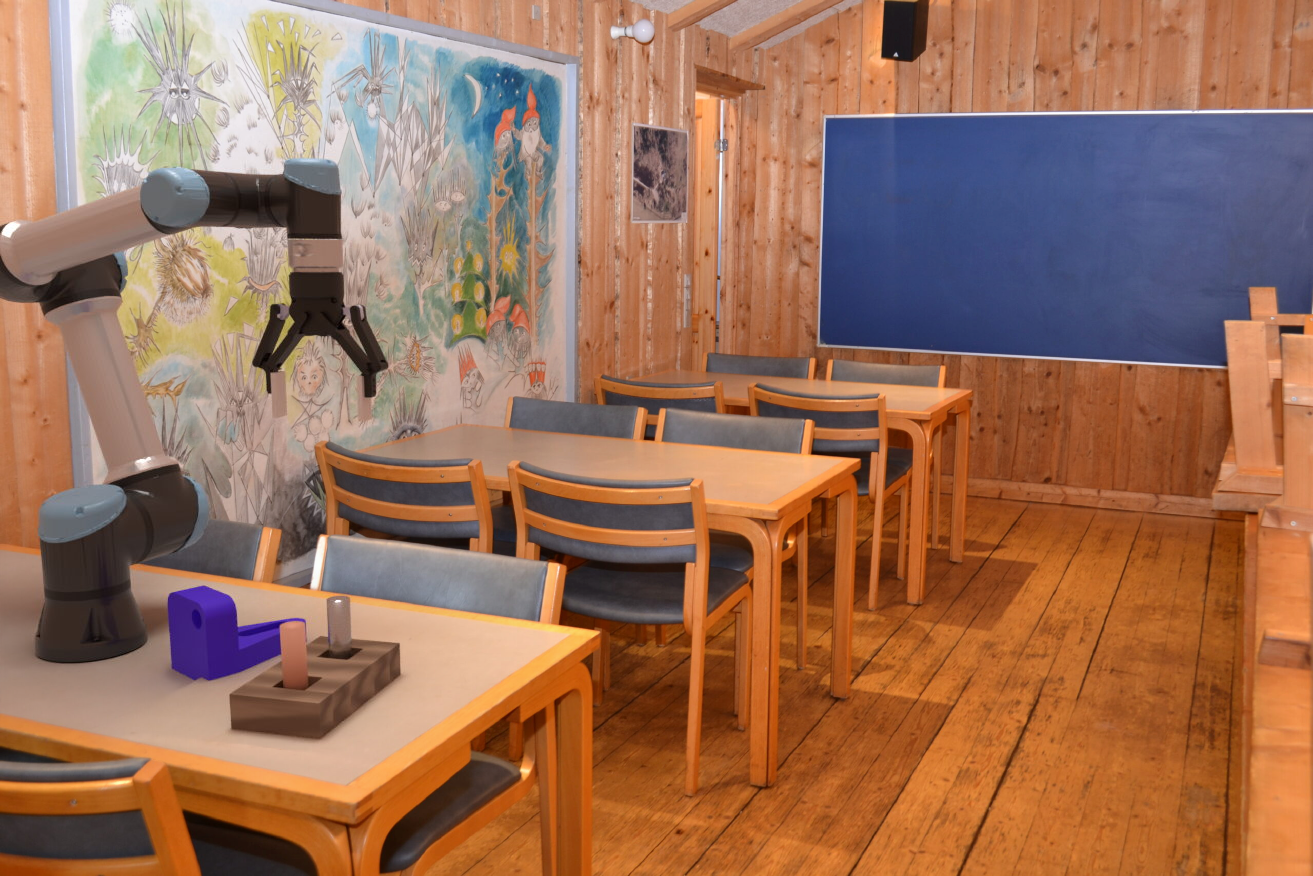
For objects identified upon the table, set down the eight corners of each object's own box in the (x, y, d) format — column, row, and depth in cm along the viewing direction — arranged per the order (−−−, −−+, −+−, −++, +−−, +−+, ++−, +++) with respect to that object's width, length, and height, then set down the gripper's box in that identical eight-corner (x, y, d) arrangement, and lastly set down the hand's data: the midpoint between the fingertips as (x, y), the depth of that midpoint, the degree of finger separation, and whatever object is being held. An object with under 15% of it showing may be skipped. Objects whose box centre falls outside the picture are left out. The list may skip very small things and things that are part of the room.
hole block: (320, 746, 140) (318, 703, 139) (231, 736, 143) (229, 694, 142) (400, 681, 161) (399, 643, 160) (322, 673, 164) (320, 636, 163)
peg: (280, 720, 145) (274, 628, 143) (293, 710, 148) (287, 620, 146) (302, 722, 145) (297, 630, 143) (314, 712, 148) (309, 622, 146)
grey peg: (326, 687, 156) (322, 601, 154) (337, 679, 159) (333, 594, 157) (346, 689, 155) (343, 603, 153) (357, 681, 158) (354, 596, 156)
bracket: (209, 689, 158) (204, 605, 156) (171, 669, 166) (166, 589, 164) (325, 655, 172) (322, 578, 170) (285, 638, 179) (282, 564, 177)
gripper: (222, 269, 164) (230, 418, 168) (385, 271, 159) (389, 425, 162) (252, 268, 172) (259, 411, 175) (408, 270, 166) (413, 417, 170)
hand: (322, 418), depth 169 cm, fingers open, 13 cm apart
